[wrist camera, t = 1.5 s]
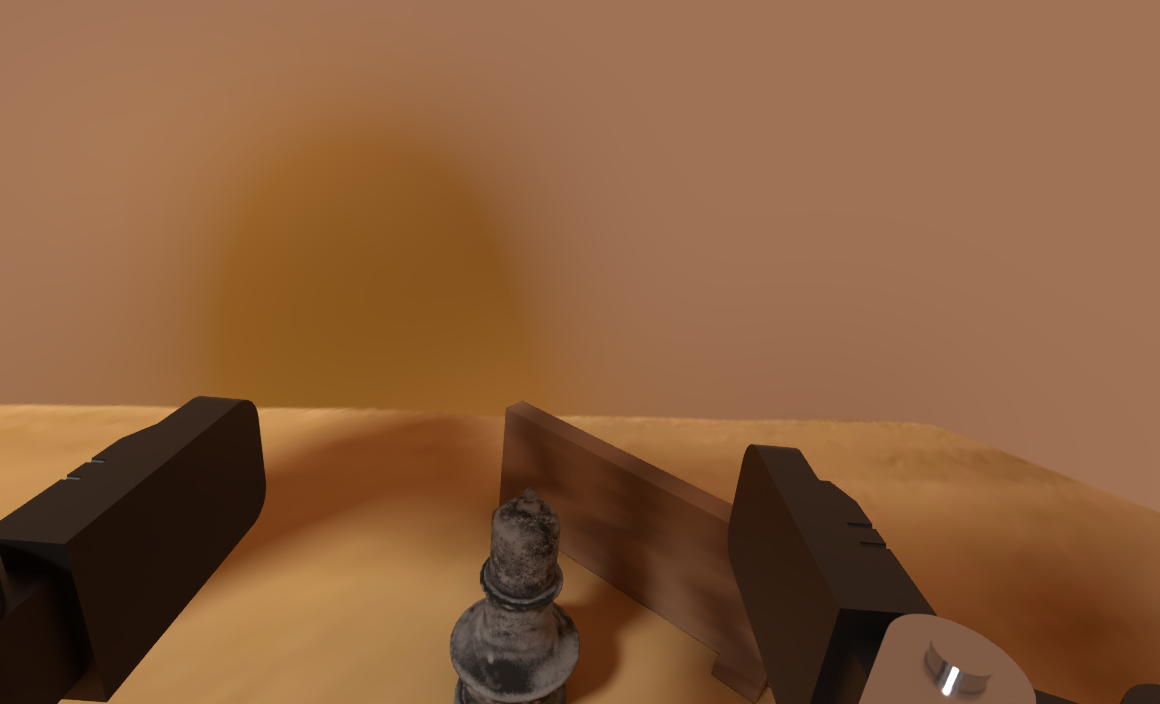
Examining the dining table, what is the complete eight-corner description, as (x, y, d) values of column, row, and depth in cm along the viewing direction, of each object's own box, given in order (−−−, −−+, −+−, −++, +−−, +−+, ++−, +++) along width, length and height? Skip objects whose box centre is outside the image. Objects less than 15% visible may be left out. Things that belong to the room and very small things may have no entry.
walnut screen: (483, 520, 40) (489, 415, 37) (527, 492, 43) (537, 394, 40) (770, 714, 29) (813, 589, 26) (800, 657, 32) (842, 540, 29)
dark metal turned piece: (537, 627, 32) (558, 436, 28) (595, 721, 28) (632, 512, 23) (430, 669, 29) (434, 463, 25) (475, 782, 25) (490, 556, 20)
